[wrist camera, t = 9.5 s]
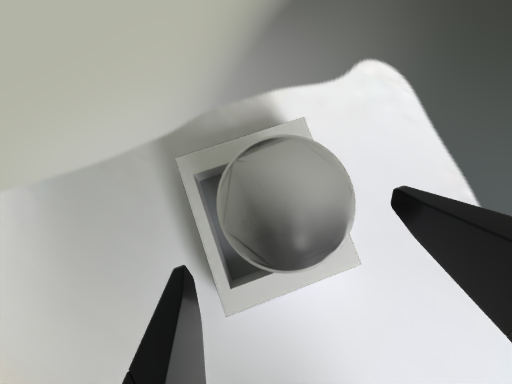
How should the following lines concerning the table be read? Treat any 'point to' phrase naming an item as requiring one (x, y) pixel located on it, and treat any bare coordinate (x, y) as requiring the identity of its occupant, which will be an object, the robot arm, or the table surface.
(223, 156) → the white open box
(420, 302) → the table surface
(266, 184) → the gray cylindrical canister
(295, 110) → the table surface
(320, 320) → the table surface
